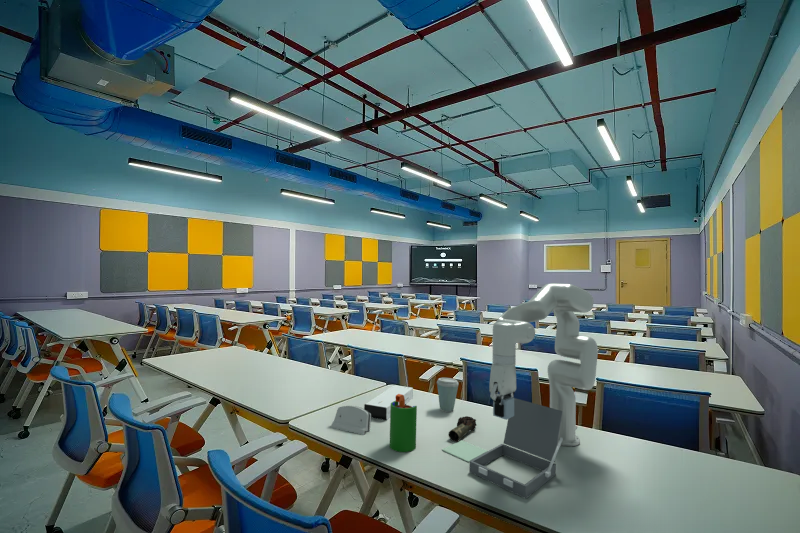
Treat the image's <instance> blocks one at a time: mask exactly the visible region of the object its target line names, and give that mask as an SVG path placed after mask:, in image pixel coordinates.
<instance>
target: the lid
mask: <svg viewBox="0 0 800 533" xmlns="http://www.w3.org/2000/svg"><path fill="white" fill-rule="evenodd" d="M562 414H563V411H560V410H556V409H553V408H550V406H549V407H548V406H545V405H540V404H538V403H534V402H530V401H526V400H524V399H520V398H516V397H514V416H513V417H511V418H509V419H507V422H506V424H507V425H506V429H505V433H504V439H503V444H504V445H507V446H509V447H512V448H515V449H517V450H520V451H523V452H525V453H528V454H531V455H533V456H536V457H538V458H541V459H544V460H546V461H549V462H551V460H552V458H553V455H554V453H555V450H556V448H557V445H558V439H559V433H560V427H561V420H562ZM555 462H556V459H555V460H554V464H556V463H555Z"/></svg>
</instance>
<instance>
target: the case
mask: <svg viewBox="0 0 800 533" xmlns="http://www.w3.org/2000/svg"><path fill="white" fill-rule="evenodd" d="M562 440H563V438H560V440H559V443H558V445H557V448H556V450H555V453H554V455H553V458H552V460H551V461H549V460H546V459H544V458H541V457H538V456H536V455H533V454H530V453H528V452H525V451H522V450H520V449H517V448H514V447H512V446H509V445H506V444H504V443H500V444H499V445H497V446H495V447H493V448H491V449H489V450H487V452H486V453H484V454H482V455H480V456H478V457H476V458H475V459H473V460H471V461H470V462H469V473H470V474H473V475H475V476H477V477H480V478H481V479H483V480H485V481H488V482H489V483H492V484H493V485H496V486H498V487H500V488H502V489H503V490H507V491H508V492H511V493H513V494H515V495H517V496H519V497H520V498H523V499H528V497H530V496H531V495H533V493H535V492H536V491H537V490H539V489H540V488H541V487H542V486H544V485H546V483H547V482H549V481H550V480H551V479H552V478H553V477H555V476H556V474H557V472H556V471H557V470H556V469H557V468H556V467H557V466H556V465H557V464H556V463H554V460H555V461H556V458H557V455H558V453H559V450H560V447H561V446H562V445H561V442H562ZM501 456H505V457H507V458H510V459H512V460H515V461H517V462H519V463H522V464H525V465H527V466H530V467H532V468H534V469H536V470H537V469H538V470H540V471H541V472H539V473H538V474H536V475H535V476H534V477H533V478H531V479H529V481H527V482H525V484H524V483H522V482H521V481H518V480H516V479H513V478H511V477H509V476H507V475H505V474H502V473H500V472H498V471H495V470H493V469H491V468H488V467H486V465H488V464H489V463H491V462H493V461H495V460H496V459H498V458H500V457H501Z"/></svg>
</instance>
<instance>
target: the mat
mask: <svg viewBox="0 0 800 533" xmlns="http://www.w3.org/2000/svg"><path fill="white" fill-rule="evenodd" d="M441 451H443V452H444V453H447V454H449V455H451V456H454V457H455V458H458V459H460V460H462V461H465V463H469V464H470V461H471V460H473V459H475V458H476V457H478V456H480V455H482V454H484V453H486V452H487V451H488V449H485V448H482V447H480V446H478V445H474V444H472V443H470V442H467V441H465V440H461V439H460V440H459V441H458V442H455V443H453V444H450V445H448V446H447V447H444V448H442V449H441Z"/></svg>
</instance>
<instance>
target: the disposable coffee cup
mask: <svg viewBox="0 0 800 533" xmlns="http://www.w3.org/2000/svg"><path fill="white" fill-rule="evenodd" d="M436 385H437V392H438V393H437V395H438V403H439V404H438V405H439V409H440V411H441V412H444V413H451V412H453V411H454V408H455V404H456V400H457V393H458V388H459V382H458V380H457V379H456V378H455V379H454V378H451V377H439V378H437V381H436Z"/></svg>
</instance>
